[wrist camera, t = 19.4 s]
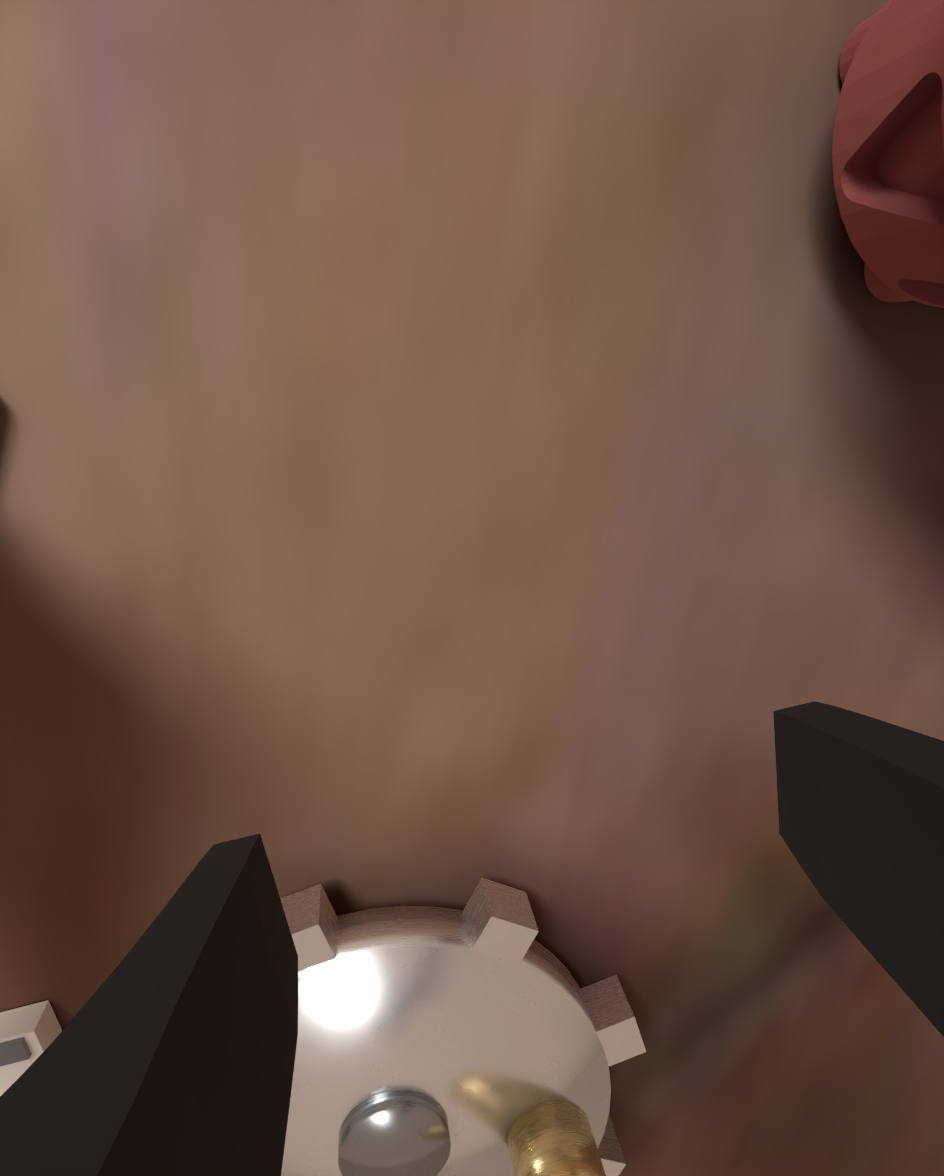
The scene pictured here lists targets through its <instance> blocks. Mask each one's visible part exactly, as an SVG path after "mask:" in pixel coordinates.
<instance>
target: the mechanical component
mask: <svg viewBox="0 0 944 1176" xmlns="http://www.w3.org/2000/svg"><path fill="white" fill-rule="evenodd" d="M839 69H840V78H841V81H842V83H843V86H842V90H841V94H840V99H839V103H838V108H837V113H836V117H835V122H834V135H833V148H832V163H833V178H834V189H835V193H836V197H837V202H838V206H839V210H840V215H841V218H842V220H843V223H844V225H845V228H846V230H847V233H848V235H849V237H850V240H851V242H852V244H853V246H854V247H855V249H856V250H857V252H858V253H859V255H860V256H861V258H862V259H863V261H864V262H865V268H864V275H865V282H866V285H867V287H868V289H869V291H870V292H871V293H872V294H873V295H874V296H875V298H877V299H879V300H881V301H883V302H891V303H895V302H905V301H917V302H919V303H922V304H925V305H929V306H935V307H942V308H944V0H888V2H887V3H886V4H885V6H884V7H883V8H882V9H881V10H879V11H878V12H876V13H875V14H873V15H872V16H870V17H869V18H867V19H866V20H864V21H863V22H861V23H860V24H859V25H858V26H857V27H855V28H854V29H853V30H852V31H851V33H850V34H849V36H848V37H847V39H846V40H845V43H844V45H843V48H842V51H841V54H840V63H839Z"/></svg>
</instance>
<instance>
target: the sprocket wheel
mask: <svg viewBox="0 0 944 1176" xmlns="http://www.w3.org/2000/svg"><path fill="white" fill-rule="evenodd" d="M280 900H281V903H282V906H283V909H284V913H285V916H286V919H287V922H288V925H289V929H290V932H291V935H292V938H293V941H294V945H295V948H296V951H297V954H298V1037H297V1046H296V1055H295V1064H294V1072H293V1081H292V1089H291V1098H290V1106H289V1114H288V1122H287V1131H286V1139H285V1147H284V1155H283V1163H282V1171H281V1176H619V1174H620V1173H621V1171H622V1170H623V1168H624V1167H625V1165H626V1162H625V1159H624V1156H623V1153H622V1150H621V1147H620V1144H619V1141H618V1138H617V1136H616V1133H615V1130H614V1127H613V1124H612V1121H611V1118H610V1116H608V1115H609V1110H610V1098H611V1084H610V1072H609V1066H612V1065H614V1064H617V1063H620V1062H622V1061H625V1060H627V1059H630V1058H632V1057H635V1056H637V1055H640V1054H642V1053H645V1052H646V1049H645V1046H644V1043H643V1040H642V1037H641V1034H640V1032H639V1029H638V1026H637V1023H636V1020H635V1017H634V1014H633V1012H632V1010H631V1007H630V1005H629V1003H628V1000H627V998H626V996H625V993H624V991H623V989H622V986H621V984H620V982H619V979H618V977H617V975H614V976H611V977H609V978H606V979H604V980H601V981H599V982H596V983H594V984H591V985H588V986H586V987H583V988H581V989H580V987H579V985H578V984H577V982H576V981H575V980H574V978H573V977H572V975H571V974H570V972H569V971H568V969H567V968H566V967H565V966H564V965H563V964H562V963H561V962H560V961H559V960H558V959H557V958H556V957H555V956H554V955H553V954H552V953H551V952H550V951H549V950H548V949H546V948H545V947H544V946H542V945H541V944H540V943H538V942H537V941H536V940H534V939H535V937H536V935H537V933H538V932H539V930H538V927H537V924H536V921H535V918H534V915H533V912H532V909H531V906H530V903H529V900H528V897H527V894H526V892H524V891H521V890H518V889H515V888H512V887H509V886H506V885H503V884H500V883H497V882H494V881H491V880H488V879H485V878H481V879H480V881H479V883H478V885H477V887H476V888H475V890H474V892H473V894H472V895H471V897H470V899H469V901H468V903H467V904H466V906H465V908H464V910H463V911H462V910H457V909H449V908H441V907H433V906H395V907H384V908H374V909H368V910H363V911H358V912H353V913H348V914H343V915H339V916H336V913H335V911H334V909H333V907H332V905H331V903H330V901H329V899H328V897H327V895H326V893H325V891H324V889H323V887H322V885H321V884H318V885H316V886H313V887H310V888H308V889H305V890H302V891H300V892H297V893H294V894H292V895H289V896H287V897H284V898H281V899H280Z"/></svg>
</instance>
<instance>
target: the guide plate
mask: <svg viewBox="0 0 944 1176" xmlns="http://www.w3.org/2000/svg"><path fill="white" fill-rule="evenodd" d="M61 1032H62V1029H61V1026H60V1024H59V1022H58V1020H57V1018H56V1015H55V1013H54V1011H53V1009H52V1007H51V1005H50V1002H49V1000H47V1001H43V1002H39V1003H35V1004H31V1005H27V1006H23V1007H19V1008H15V1009H12V1010H8V1011H4V1012H0V1096H1V1095H2V1094H3V1093H4V1092H5V1091H6V1090H7V1089H8V1088H9V1087H10V1086H11V1085H12V1084H13V1083H14V1082H15V1081H16V1080H17V1079H18V1078H19V1077H20V1076H21V1075H22V1074H23V1073H24V1072H25V1071H26V1070H27V1069H28V1068H29V1067H30V1066H31V1064H32V1063H33V1062H34V1061H35V1060H36V1059H37V1058H38V1057H39V1056H40V1055H41V1054H42V1053H43V1052H44V1051H45V1050H46V1048H47V1047H48V1046H49V1045H50V1044H51V1043H52V1042H53V1041H54V1040H55V1039H56V1038H57V1036H58V1035H59V1034H60V1033H61Z"/></svg>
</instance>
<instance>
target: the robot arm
mask: <svg viewBox="0 0 944 1176" xmlns="http://www.w3.org/2000/svg"><path fill="white" fill-rule="evenodd" d="M774 729H775V749H776V770H777V790H778V810H779V831H780V835H781V836H782V838H783V839H784V841H785V842H786V844H787V845H788V847H789V849H790V850H791V852H792V853H793V855H794V856H795V858H796V859H797V861H798V863H799V864H800V866H801V867H802V869H803V870H804V871H805V873H806V874H807V876H808V877H809V879H810V880H811V882H812V883H813V885H814V886H815V887H816V889H817V890H818V892H819V893H820V895H821V896H822V897H823V898H824V900H825V901H826V902H827V903H828V904H829V905H830V907H831V908H832V909H833V910H834V911H835V913H836V914H837V915H838V916H839V917H840V918H841V920H842V921H843V922H844V923H845V924H846V925H847V927H848V928H849V929H850V930H851V931H852V932H853V934H854V935H855V936H856V937H857V938H858V939H859V940H860V942H861V943H862V944H863V945H864V946H865V947H866V949H867V950H868V951H869V952H870V953H871V954H872V955H873V957H874V958H875V959H876V960H877V961H878V962H879V963H880V965H881V966H882V967H883V968H884V969H885V970H886V971H887V973H888V974H889V975H890V976H891V977H892V978H893V979H894V980H895V982H896V983H897V984H898V985H899V986H900V987H901V988H902V990H903V991H904V992H905V993H906V994H907V995H908V996H909V998H910V999H911V1000H912V1001H913V1002H914V1003H915V1004H916V1006H917V1007H918V1008H919V1009H920V1010H921V1011H922V1012H923V1014H924V1015H925V1016H926V1017H927V1018H928V1019H929V1020H930V1022H931V1023H932V1024H933V1025H934V1026H935V1027H936V1028H937V1030H938V1031H939V1032H940V1033H941V1034H942V1035H943V1036H944V741H942V740H939V739H936V738H933V737H929V736H926V735H923V734H920V733H917V732H914V731H911V730H908V729H905V728H902V727H899V726H896V725H893V724H890V723H887V722H884V721H881V720H878V719H875V718H871V717H868V716H865V715H862V714H859V713H855V712H852V711H849V710H845V709H842V708H839V707H835V706H831V705H827V704H823V703H819V702H810V703H806V704H802V705H798V706H794V707H789V708H785V709H781V710H777V711H774ZM297 1037H298V954H297V951H296V948H295V945H294V941H293V938H292V935H291V932H290V929H289V925H288V922H287V919H286V916H285V913H284V909H283V906H282V903H281V900H280V897H279V893H278V890H277V887H276V884H275V880H274V877H273V874H272V871H271V868H270V864H269V861H268V858H267V855H266V852H265V848H264V845H263V842H262V839H261V836H260V834H257V835H253V836H248V837H244V838H240V839H236V840H232V841H227V842H223V843H219V844H215V845H213V846H212V847H211V848H210V850H209V851H208V852H207V853H206V854H205V856H204V857H203V858H202V859H201V861H200V862H199V863H198V865H197V866H196V867H195V868H194V870H193V871H192V872H191V874H190V875H189V876H188V877H187V879H186V880H185V881H184V883H183V884H182V885H181V887H180V888H179V889H178V891H177V892H176V893H175V894H174V896H173V897H172V898H171V900H170V901H169V902H168V904H167V905H166V906H165V908H164V909H163V910H162V911H161V913H160V914H159V915H158V916H157V918H156V919H155V920H154V922H153V923H152V924H151V925H150V927H149V928H148V929H147V930H146V932H145V933H144V934H143V935H142V937H141V938H140V939H139V941H138V942H137V943H136V944H135V946H134V947H133V948H132V949H131V951H130V952H129V953H128V954H127V956H126V957H125V958H124V959H123V961H122V962H121V963H120V964H119V966H118V967H117V968H116V969H115V970H114V971H113V973H112V974H111V975H110V976H109V977H108V978H107V980H106V981H105V982H104V983H103V984H102V985H101V987H100V988H99V989H98V990H97V991H96V992H95V993H94V995H93V996H92V997H91V998H90V999H89V1000H88V1002H87V1003H86V1004H85V1005H84V1006H83V1007H82V1009H81V1010H80V1011H79V1012H78V1013H77V1014H76V1016H75V1017H74V1018H73V1019H72V1020H71V1021H70V1022H69V1024H68V1025H67V1026H66V1027H65V1028H64V1029H63V1031H62V1032H61V1033H60V1034H59V1035H58V1036H57V1038H56V1039H55V1040H54V1041H53V1042H52V1043H51V1044H50V1045H49V1046H48V1047H47V1048H46V1050H45V1051H44V1052H43V1053H42V1054H41V1055H40V1056H39V1057H38V1058H37V1059H36V1060H35V1061H34V1062H33V1063H32V1064H31V1066H30V1067H29V1068H28V1069H27V1070H26V1071H25V1072H24V1073H23V1074H22V1075H21V1076H20V1077H19V1078H18V1079H17V1080H16V1081H15V1082H14V1083H13V1084H12V1085H11V1086H10V1087H9V1088H8V1089H7V1090H6V1091H5V1092H4V1093H3V1094H2V1095H1V1096H0V1176H281V1171H282V1163H283V1155H284V1147H285V1139H286V1131H287V1122H288V1114H289V1106H290V1098H291V1089H292V1081H293V1072H294V1064H295V1055H296V1046H297Z"/></svg>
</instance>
